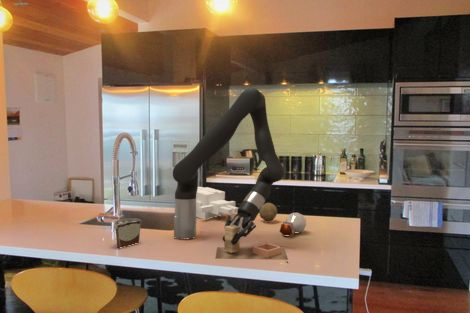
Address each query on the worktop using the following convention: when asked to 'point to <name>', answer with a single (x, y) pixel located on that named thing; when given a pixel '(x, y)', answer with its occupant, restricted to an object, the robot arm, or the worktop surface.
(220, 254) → the walnut board
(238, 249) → the tan tall block
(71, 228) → the worktop surface
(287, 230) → the potion bottle
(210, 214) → the blocky voxel creature
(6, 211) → the worktop surface
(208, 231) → the worktop surface
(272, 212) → the natural sponge
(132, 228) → the food container
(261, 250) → the square tan tray
